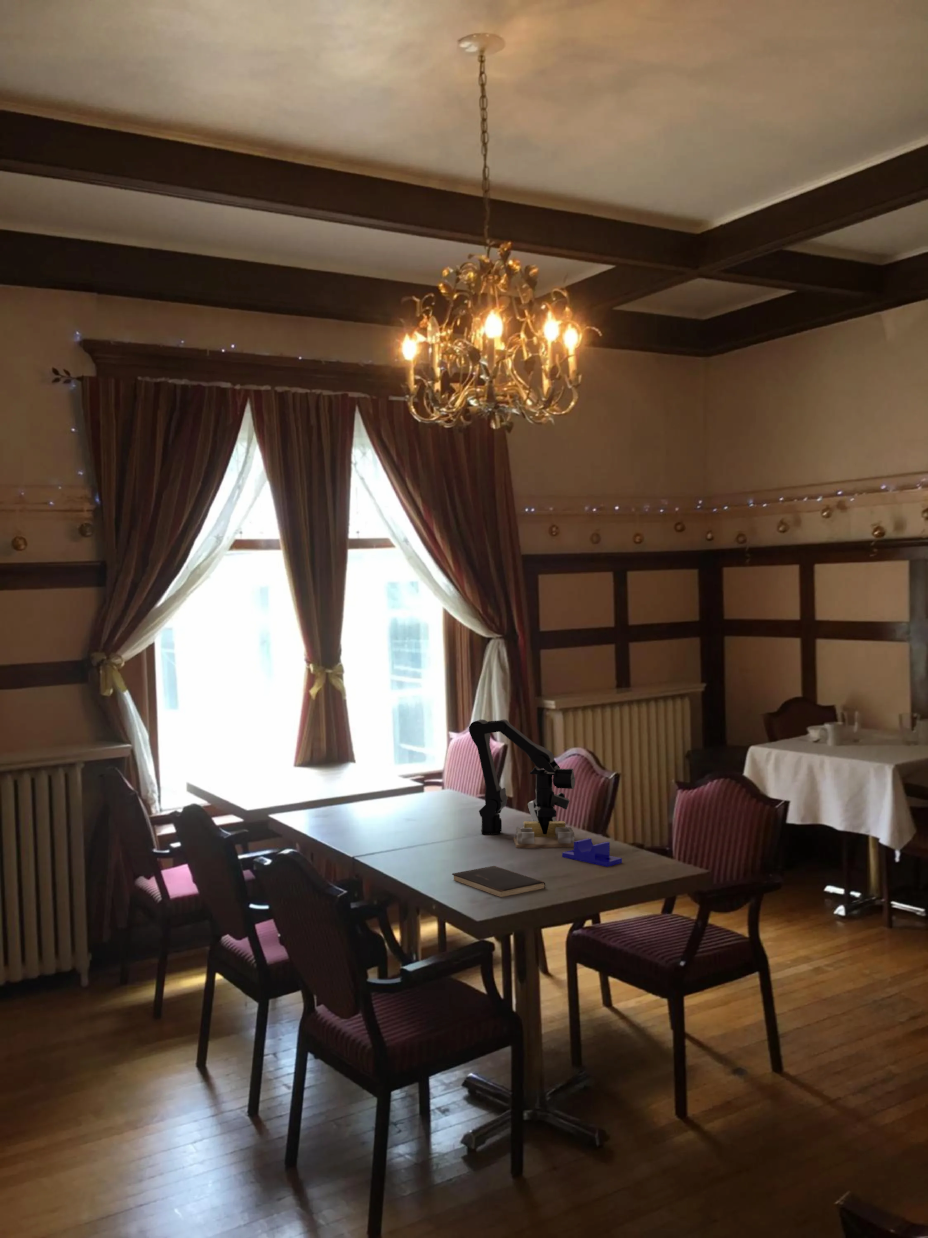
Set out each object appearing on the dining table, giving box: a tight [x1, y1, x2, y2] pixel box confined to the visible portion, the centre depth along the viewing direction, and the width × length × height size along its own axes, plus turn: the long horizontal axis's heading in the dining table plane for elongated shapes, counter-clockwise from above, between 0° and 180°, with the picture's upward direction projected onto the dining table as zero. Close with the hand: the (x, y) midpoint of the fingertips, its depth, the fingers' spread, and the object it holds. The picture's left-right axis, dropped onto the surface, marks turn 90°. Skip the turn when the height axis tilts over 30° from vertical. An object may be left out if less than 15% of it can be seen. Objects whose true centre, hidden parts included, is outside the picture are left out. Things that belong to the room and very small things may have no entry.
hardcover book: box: [451, 865, 546, 898], centre depth 310 cm, size 16×23×2 cm
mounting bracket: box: [561, 837, 623, 868], centre depth 338 cm, size 18×7×6 cm, turn 44°
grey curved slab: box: [527, 799, 557, 821], centre depth 393 cm, size 17×5×10 cm, turn 18°
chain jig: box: [513, 826, 576, 849], centre depth 361 cm, size 20×11×4 cm, turn 92°
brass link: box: [523, 820, 566, 837], centre depth 372 cm, size 14×4×5 cm, turn 91°
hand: (544, 833), depth 372 cm, fingers open, 4 cm apart
